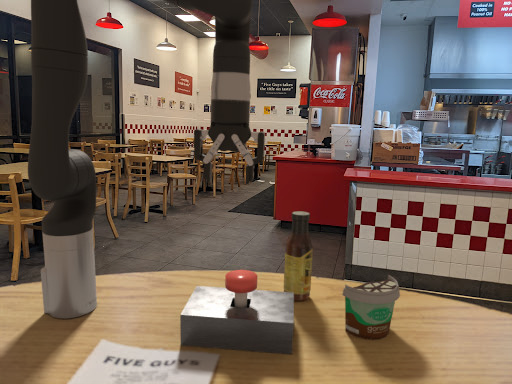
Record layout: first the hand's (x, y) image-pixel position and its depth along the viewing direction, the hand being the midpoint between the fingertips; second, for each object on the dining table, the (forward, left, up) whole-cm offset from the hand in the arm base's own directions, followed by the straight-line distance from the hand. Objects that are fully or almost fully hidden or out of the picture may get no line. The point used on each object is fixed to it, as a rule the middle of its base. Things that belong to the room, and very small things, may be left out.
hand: (228, 182), depth 78 cm
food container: (+30, -5, -28) cm, 41 cm away
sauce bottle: (+15, +9, -28) cm, 33 cm away
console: (+4, -8, -28) cm, 29 cm away
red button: (+4, -8, -23) cm, 25 cm away
